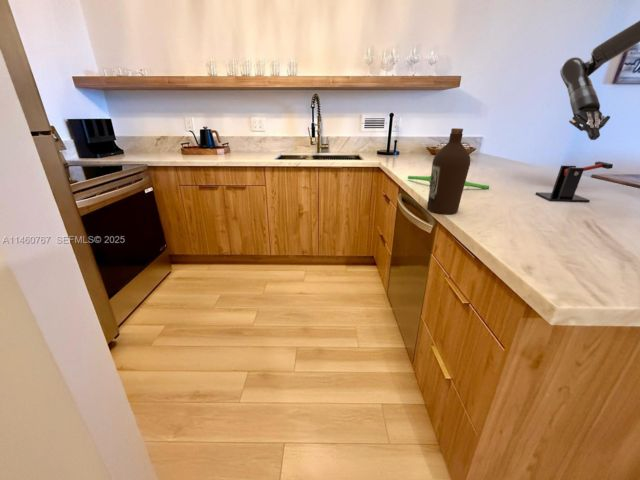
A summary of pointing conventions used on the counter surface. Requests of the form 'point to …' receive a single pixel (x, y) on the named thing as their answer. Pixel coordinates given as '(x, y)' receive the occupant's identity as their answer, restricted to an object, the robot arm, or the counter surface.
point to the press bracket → (565, 186)
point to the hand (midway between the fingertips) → (595, 138)
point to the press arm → (594, 166)
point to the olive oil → (448, 175)
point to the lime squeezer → (428, 178)
